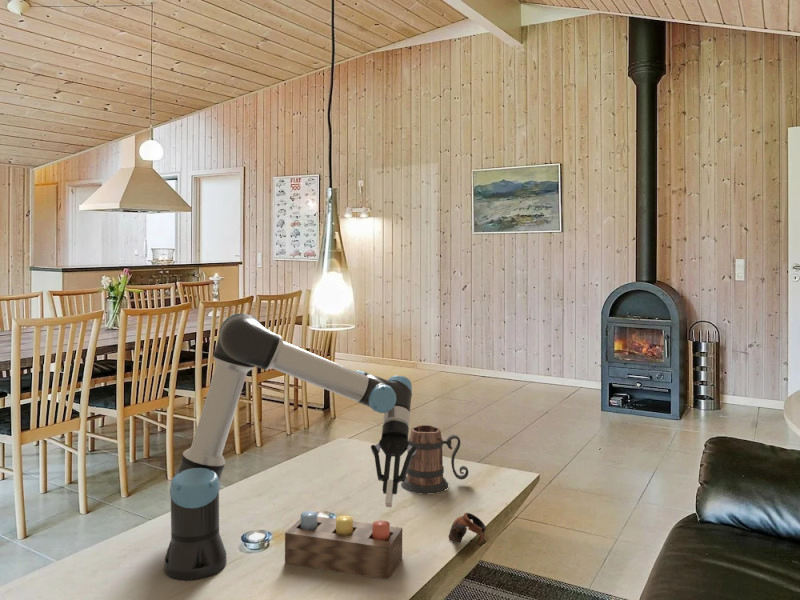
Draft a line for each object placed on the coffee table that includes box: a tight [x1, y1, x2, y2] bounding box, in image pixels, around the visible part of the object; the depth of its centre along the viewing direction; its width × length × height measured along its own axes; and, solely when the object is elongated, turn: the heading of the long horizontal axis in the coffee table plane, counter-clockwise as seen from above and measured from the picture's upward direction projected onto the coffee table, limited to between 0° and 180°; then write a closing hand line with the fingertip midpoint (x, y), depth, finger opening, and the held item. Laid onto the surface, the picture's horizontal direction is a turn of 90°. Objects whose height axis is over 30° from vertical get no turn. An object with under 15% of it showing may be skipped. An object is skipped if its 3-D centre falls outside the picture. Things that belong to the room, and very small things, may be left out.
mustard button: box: [335, 515, 354, 536], centre depth 163 cm, size 4×4×4 cm
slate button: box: [300, 510, 318, 531], centre depth 166 cm, size 4×4×4 cm
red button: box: [371, 519, 391, 541], centre depth 160 cm, size 4×4×4 cm
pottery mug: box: [448, 512, 487, 545], centre depth 175 cm, size 12×10×8 cm
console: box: [284, 516, 403, 580], centre depth 164 cm, size 28×12×8 cm, turn 74°
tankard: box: [400, 424, 469, 495], centre depth 219 cm, size 24×17×20 cm
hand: (388, 505), depth 165 cm, fingers closed
